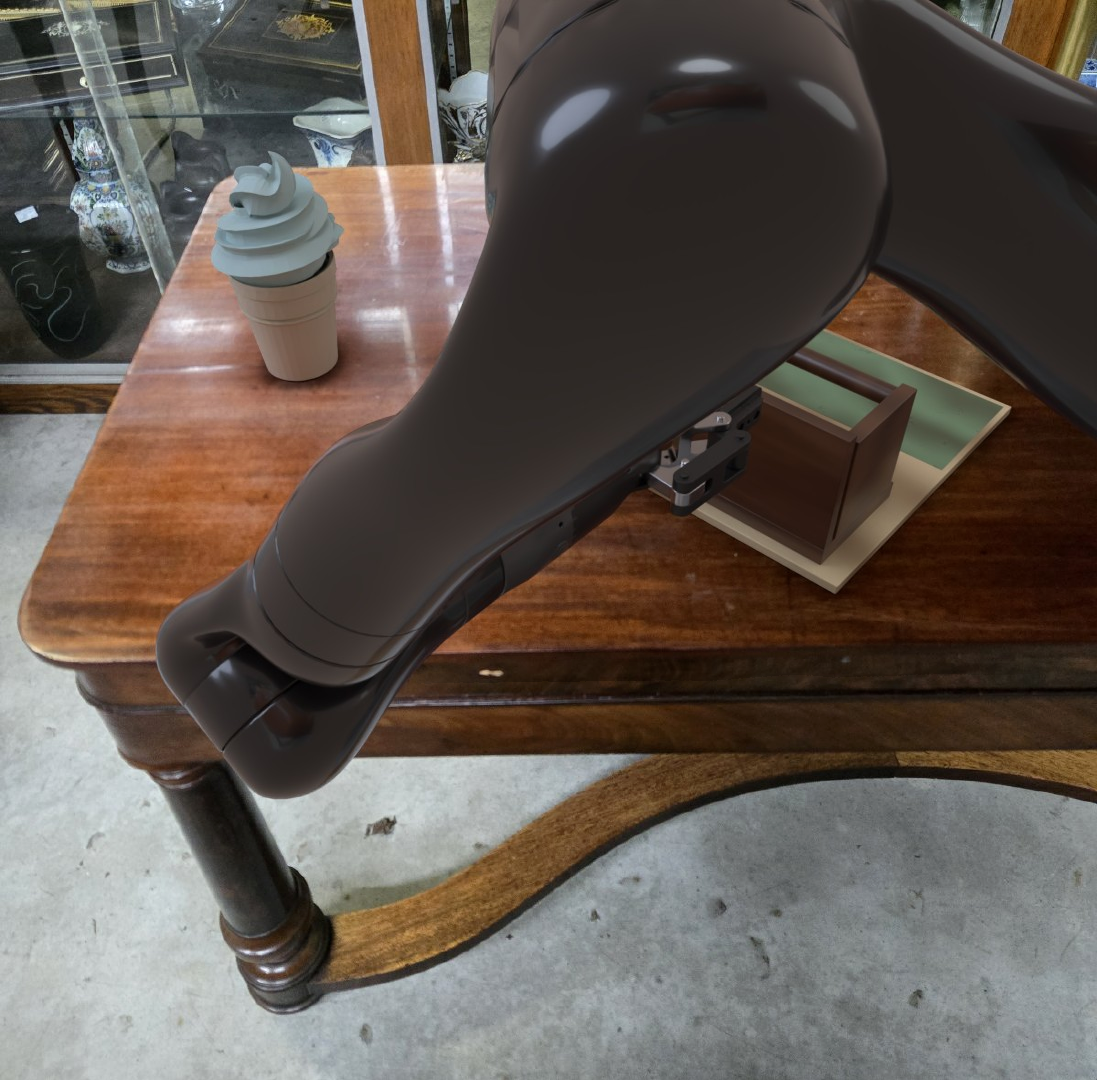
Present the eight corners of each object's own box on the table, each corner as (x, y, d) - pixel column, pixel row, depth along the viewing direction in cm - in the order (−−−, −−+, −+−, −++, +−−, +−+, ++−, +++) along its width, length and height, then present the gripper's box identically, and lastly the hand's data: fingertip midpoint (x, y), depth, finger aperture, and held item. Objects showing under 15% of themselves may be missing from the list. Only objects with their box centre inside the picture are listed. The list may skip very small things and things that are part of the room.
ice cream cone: (247, 336, 99) (194, 129, 85) (364, 328, 100) (330, 122, 86) (235, 399, 92) (174, 185, 78) (361, 390, 93) (323, 176, 79)
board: (835, 594, 74) (837, 586, 74) (619, 473, 84) (620, 466, 84) (1009, 414, 89) (1011, 406, 88) (808, 329, 99) (809, 321, 98)
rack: (820, 565, 75) (849, 442, 67) (647, 470, 83) (655, 349, 75) (889, 496, 80) (924, 374, 72) (720, 413, 88) (735, 294, 80)
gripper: (622, 509, 50) (807, 362, 58) (421, 390, 57) (612, 275, 65) (616, 613, 55) (786, 465, 63) (433, 493, 62) (608, 374, 70)
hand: (698, 369), depth 64 cm, fingers open, 8 cm apart
